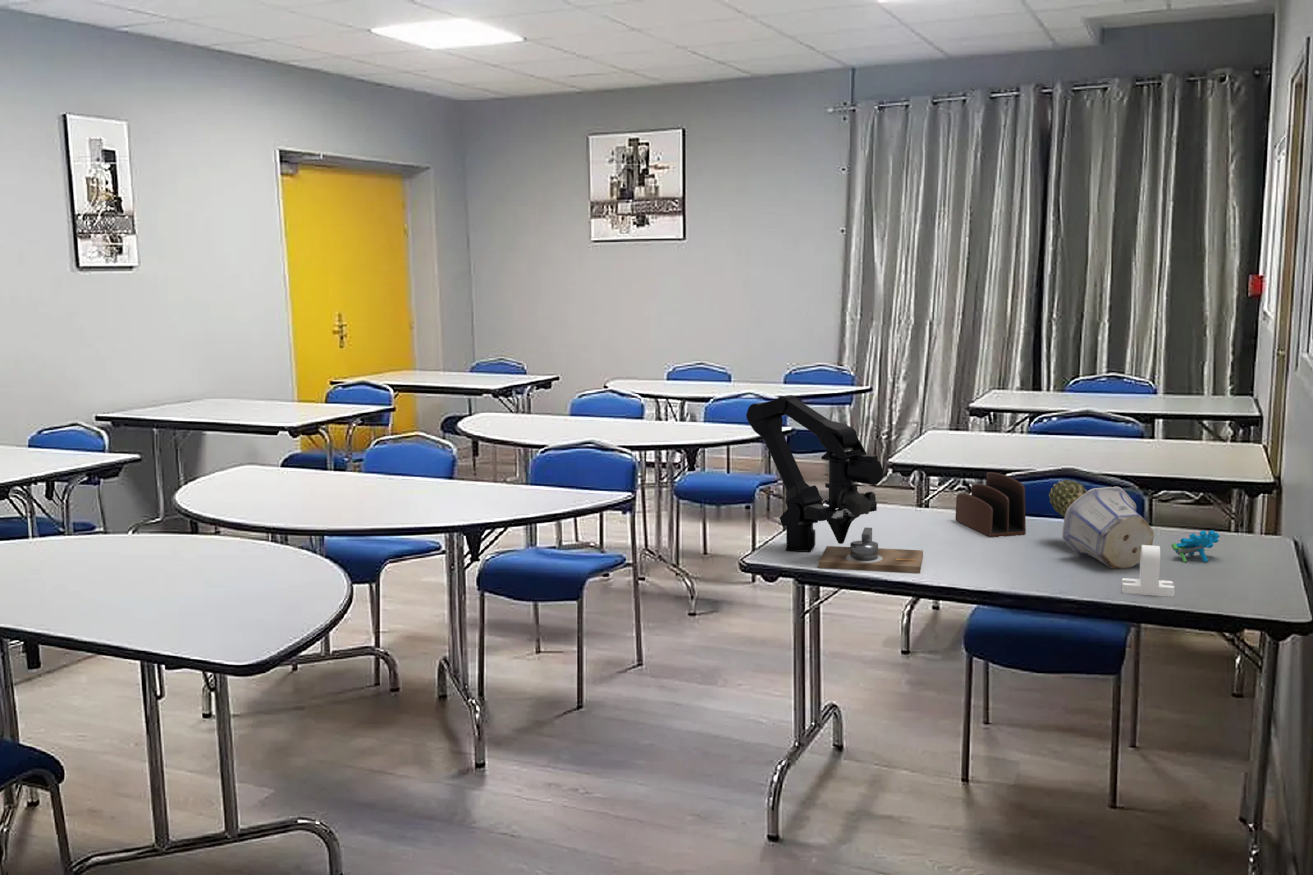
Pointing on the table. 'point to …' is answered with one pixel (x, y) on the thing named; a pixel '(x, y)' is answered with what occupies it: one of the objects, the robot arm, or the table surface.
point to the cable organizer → (1148, 576)
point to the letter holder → (994, 507)
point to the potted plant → (1101, 523)
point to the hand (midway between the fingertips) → (840, 543)
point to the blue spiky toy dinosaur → (1196, 544)
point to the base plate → (873, 560)
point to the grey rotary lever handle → (864, 547)
